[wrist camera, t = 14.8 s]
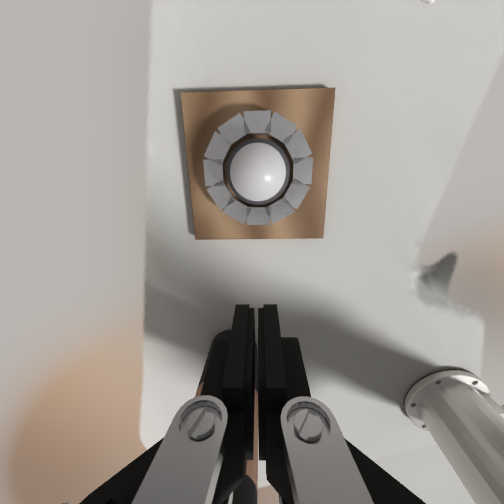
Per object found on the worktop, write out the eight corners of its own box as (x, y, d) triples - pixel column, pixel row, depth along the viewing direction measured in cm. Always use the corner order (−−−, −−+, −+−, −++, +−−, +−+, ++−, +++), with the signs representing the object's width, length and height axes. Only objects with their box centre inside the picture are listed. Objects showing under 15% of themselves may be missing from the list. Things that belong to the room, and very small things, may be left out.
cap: (287, 142, 27) (292, 137, 21) (283, 198, 29) (288, 206, 24) (232, 142, 27) (224, 137, 22) (233, 197, 29) (226, 204, 24)
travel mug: (249, 373, 39) (240, 564, 20) (203, 359, 39) (151, 544, 20) (265, 336, 37) (272, 515, 18) (217, 321, 36) (172, 490, 17)
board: (332, 91, 26) (335, 87, 25) (320, 235, 31) (323, 238, 30) (183, 95, 26) (180, 92, 25) (197, 236, 32) (195, 239, 31)
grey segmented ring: (311, 113, 26) (315, 109, 24) (305, 220, 29) (309, 224, 28) (203, 116, 26) (199, 112, 24) (211, 221, 30) (208, 225, 28)
